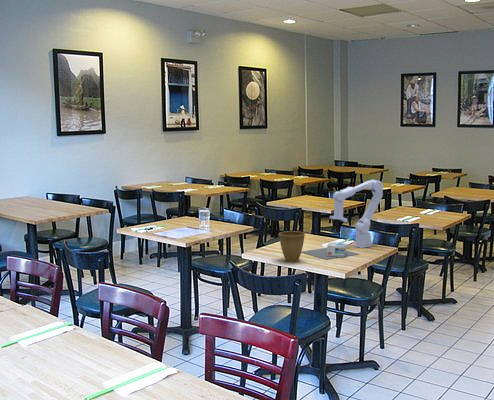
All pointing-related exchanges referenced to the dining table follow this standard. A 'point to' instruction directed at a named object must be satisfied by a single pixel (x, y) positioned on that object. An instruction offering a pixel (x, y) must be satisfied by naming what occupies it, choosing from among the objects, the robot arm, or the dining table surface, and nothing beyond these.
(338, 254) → the light bulb box
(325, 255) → the mat
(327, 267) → the dining table surface
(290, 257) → the plant pot
